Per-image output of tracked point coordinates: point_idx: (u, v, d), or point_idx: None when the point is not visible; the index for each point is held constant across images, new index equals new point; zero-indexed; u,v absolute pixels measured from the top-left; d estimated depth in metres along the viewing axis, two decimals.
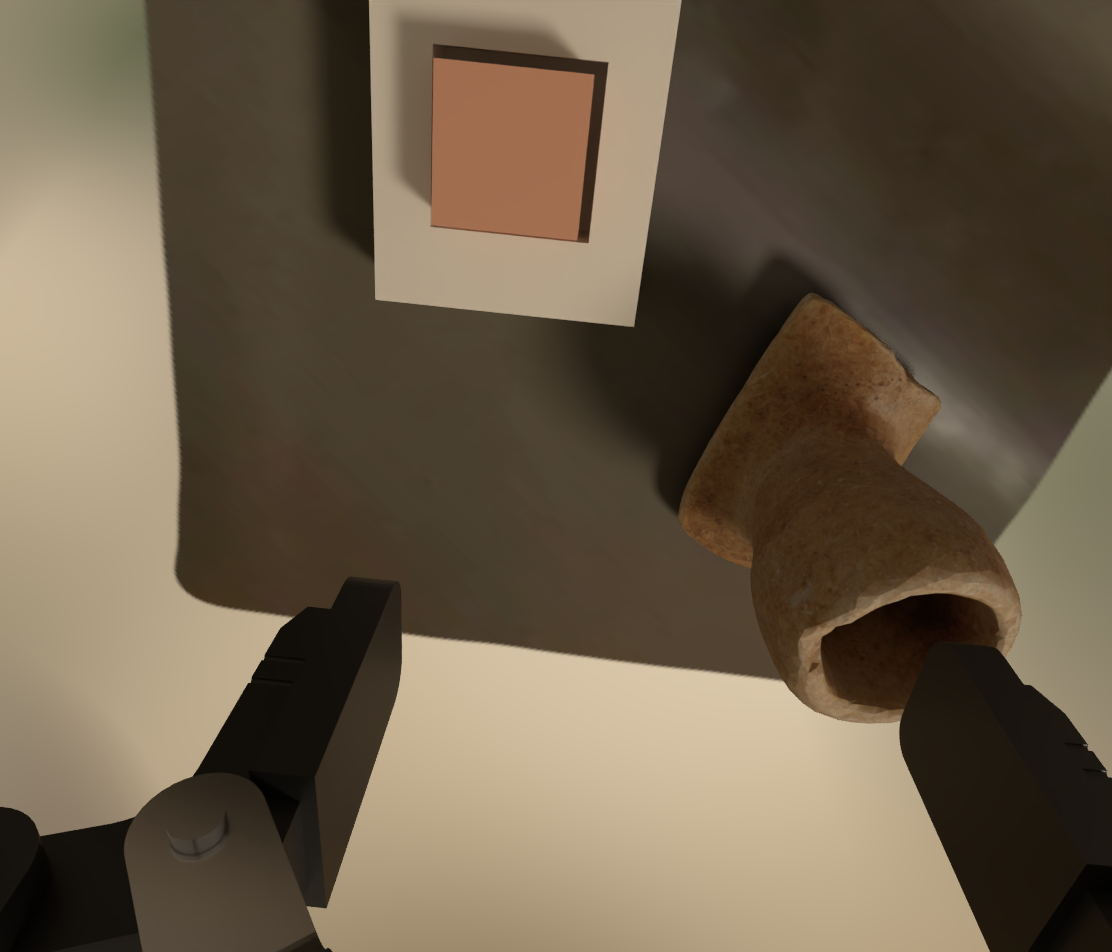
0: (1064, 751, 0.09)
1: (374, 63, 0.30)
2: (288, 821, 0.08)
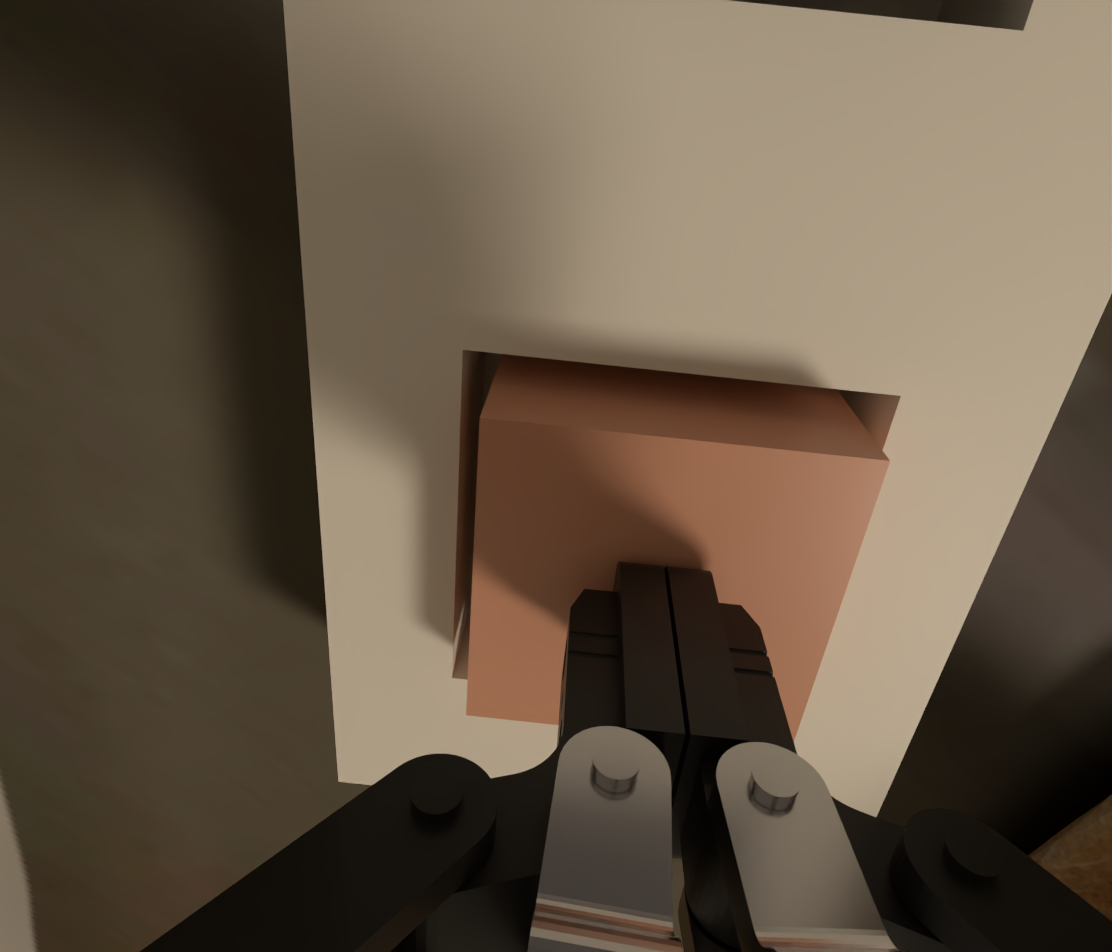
0: (722, 650, 0.10)
1: (320, 387, 0.12)
2: None
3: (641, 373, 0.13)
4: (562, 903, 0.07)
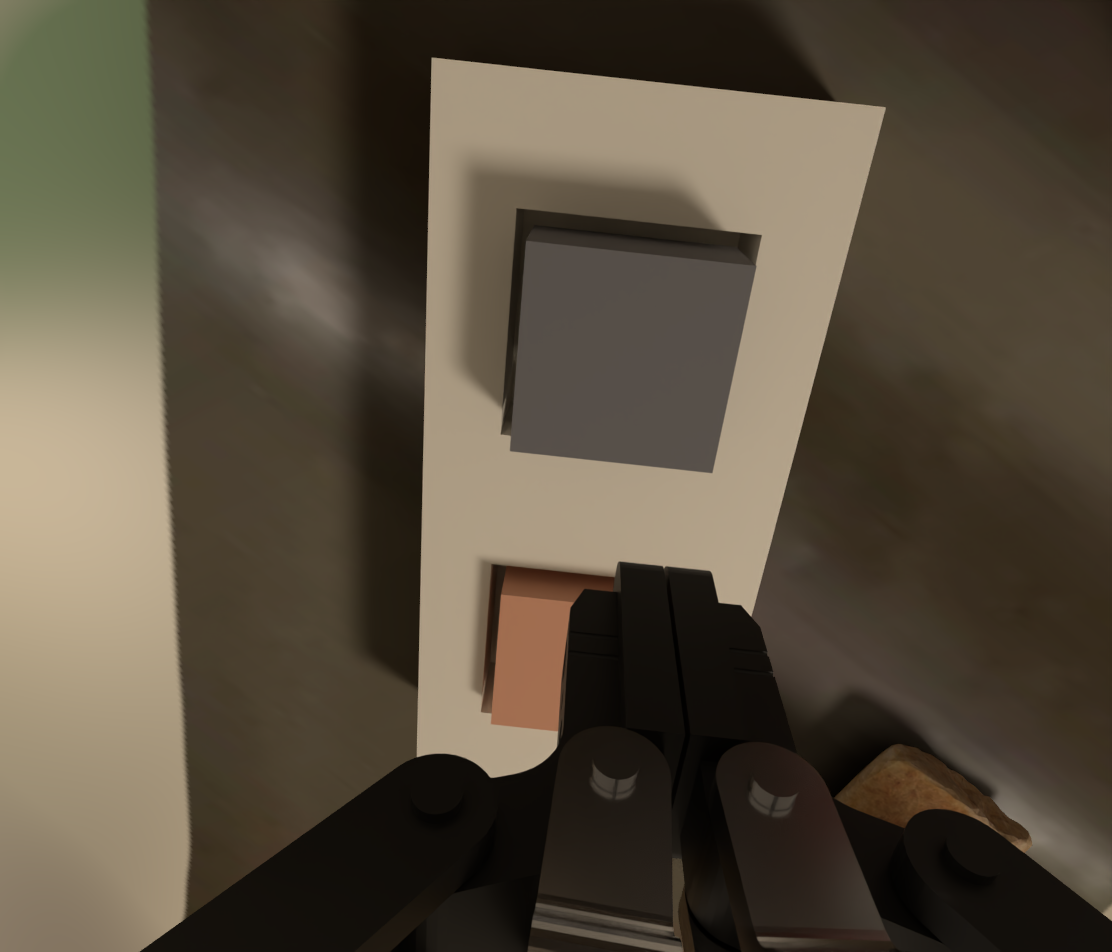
0: (722, 650, 0.10)
1: (425, 577, 0.27)
2: None
3: None
4: (562, 903, 0.07)
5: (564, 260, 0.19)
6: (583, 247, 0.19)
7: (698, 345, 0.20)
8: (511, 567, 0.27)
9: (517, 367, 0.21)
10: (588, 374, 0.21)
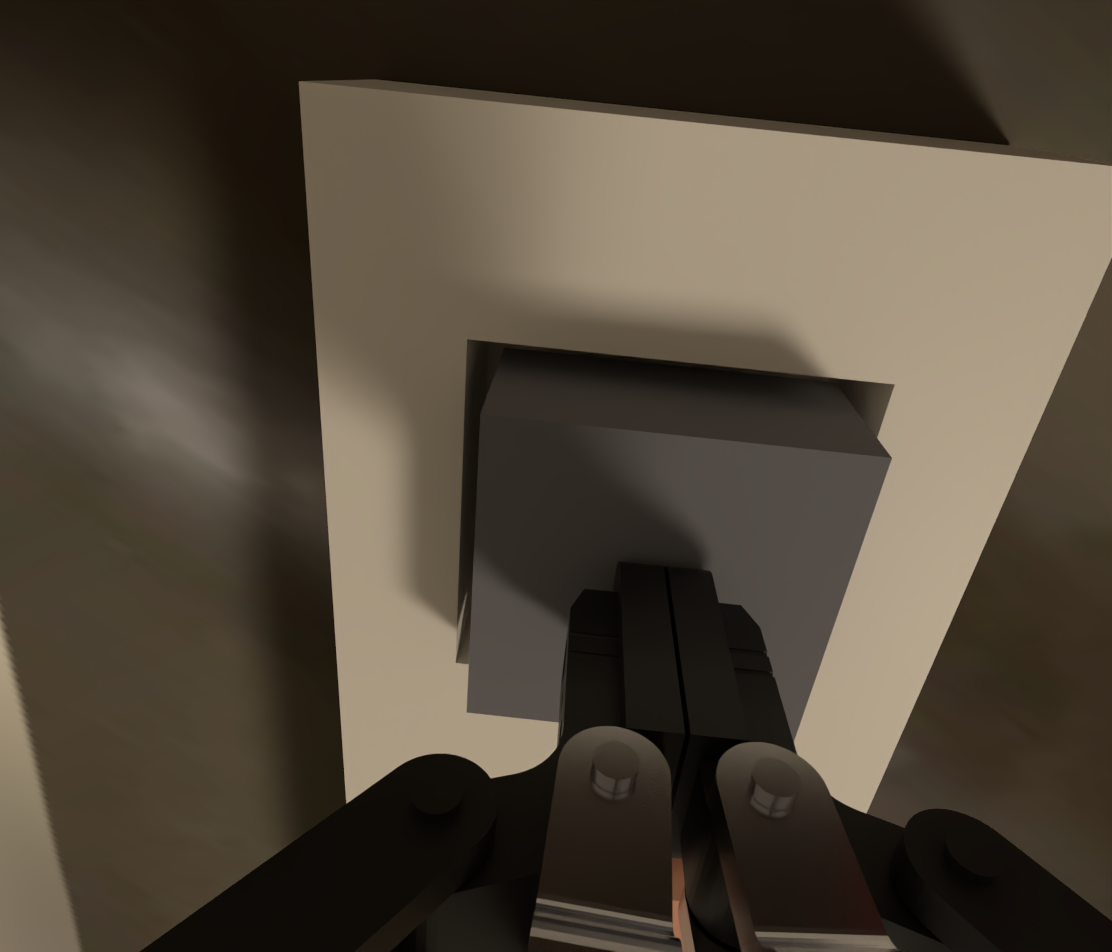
0: (722, 650, 0.10)
1: None
2: None
3: None
4: (562, 903, 0.07)
5: (549, 445, 0.11)
6: (582, 424, 0.11)
7: (779, 575, 0.12)
8: None
9: (474, 600, 0.12)
10: None
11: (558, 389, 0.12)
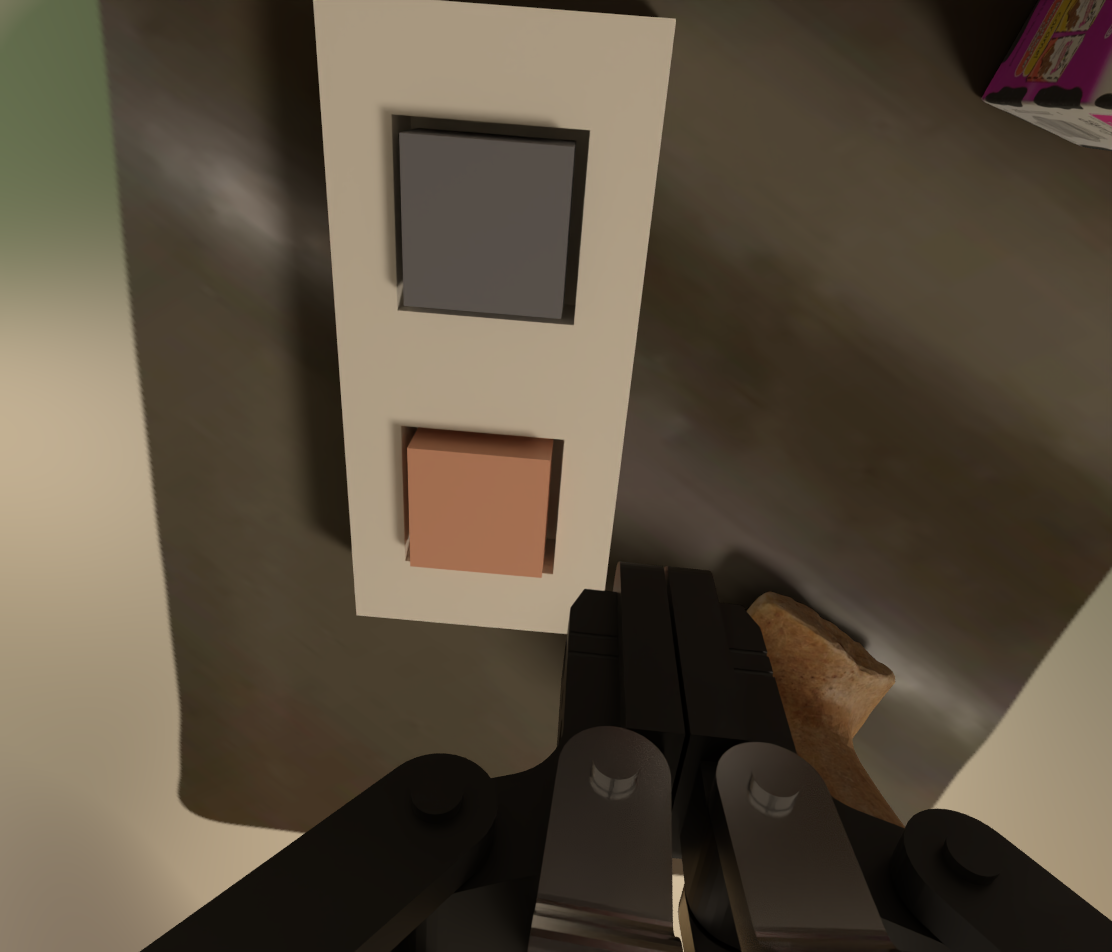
0: (722, 650, 0.10)
1: (348, 440, 0.32)
2: None
3: None
4: (562, 903, 0.07)
5: (429, 147, 0.26)
6: (442, 136, 0.26)
7: (537, 213, 0.26)
8: (420, 431, 0.33)
9: (403, 236, 0.27)
10: (456, 240, 0.27)
11: (437, 133, 0.27)
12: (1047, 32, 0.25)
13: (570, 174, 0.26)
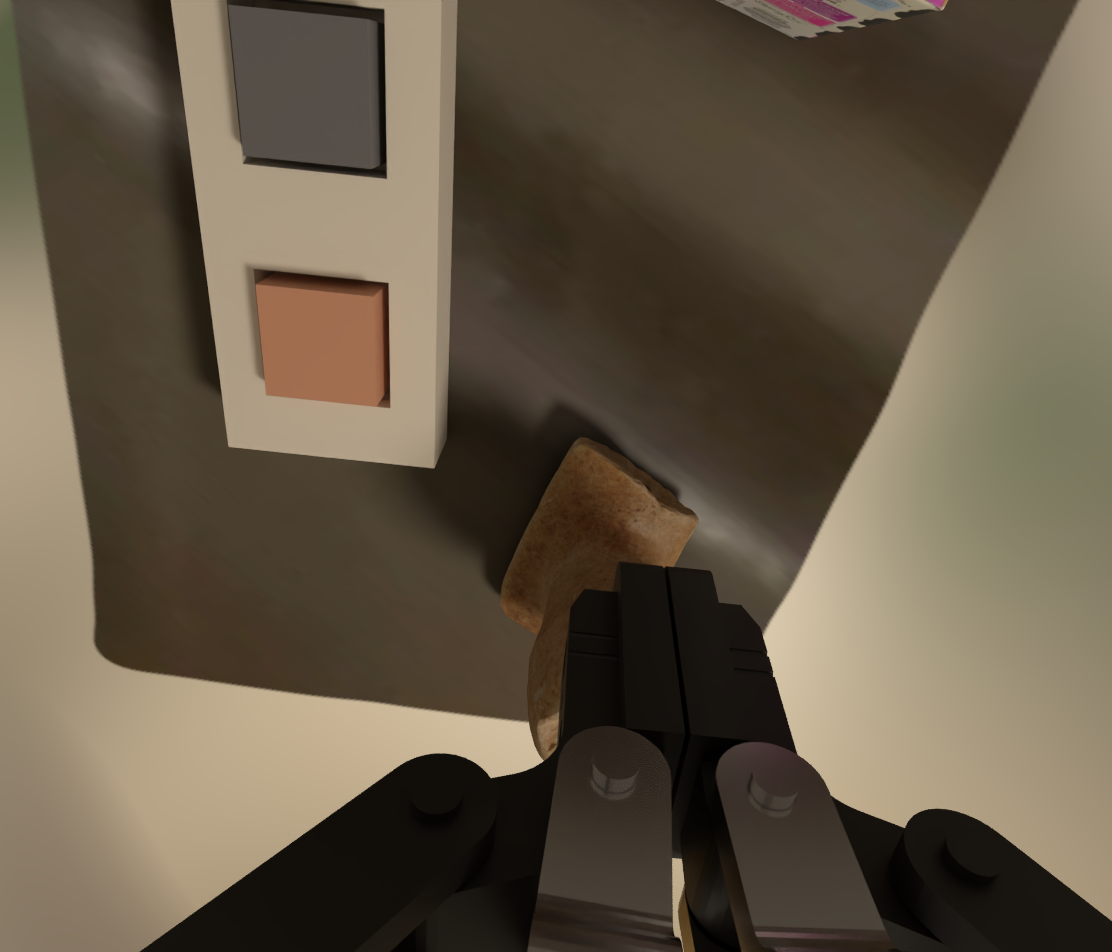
0: (723, 651, 0.10)
1: (210, 281, 0.39)
2: None
3: (321, 277, 0.40)
4: (562, 903, 0.07)
5: (253, 17, 0.32)
6: (263, 8, 0.32)
7: (343, 75, 0.33)
8: (272, 276, 0.39)
9: (238, 94, 0.34)
10: (281, 98, 0.34)
11: None
12: None
13: (366, 42, 0.32)
